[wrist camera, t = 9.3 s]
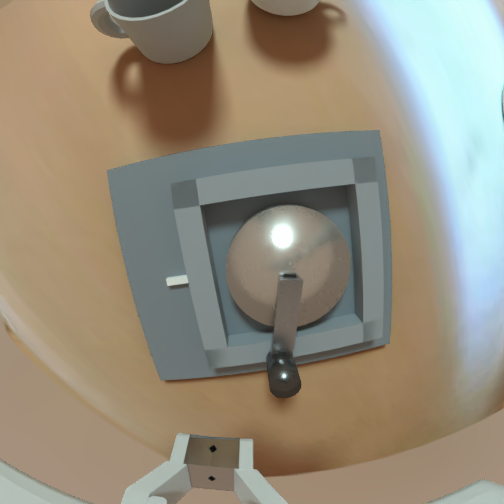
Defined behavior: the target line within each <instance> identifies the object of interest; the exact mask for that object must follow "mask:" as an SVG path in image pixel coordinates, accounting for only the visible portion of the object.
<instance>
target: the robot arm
mask: <svg viewBox="0 0 504 504" xmlns="http://www.w3.org/2000/svg"><path fill="white" fill-rule="evenodd" d="M502 99H503V112H504V87H503V97H502ZM239 446H240V447H239ZM192 487H195V488H205V489H216V490H227V491H234V493H235V494H236V496H237V497H238V499H239V500H240V501H241V503H242V504H288V503H287V502H286V501H285V500H284V499H283V498H282V497H281V496H280V495H279V493H278V492H277V491H276V490H275V489H274V488H273V487H272V486H271V485H270V484H269V483H268V482H267V480H266V479H265V478H264V477H263V476H262V475H261V474H260V472H259V471H258V470H256V469H253V439H240V438H223V437H207V436H199V435H192V434H184V433H178V434H177V436H176V439H175V443H174V446H173V450H172V454H171V457H170V461H169V462H168V461H165V462H164V463H163V464H161V465H160V466H158V467H157V468H156V469H154V470H153V471H151V472H150V473H149V474H147V475H146V476H144V477H143V478H141V479H140V480H138V481H137V482H135V483H134V484H132V485H131V486H130V487H128V488H126V491H125V494H124V497H123V499H122V502H121V504H176V503H177V502H178V501H179V500H180V499H181V498H182V497H183V496H184V495H186V493H188V491H190V490H191V488H192ZM0 504H93V503H90V502H88V501H85V500H82V499H80V498H77V497H75V496H72V495H70V494H67V493H65V492H62V491H60V490H58V489H56V488H54V487H51V486H49V485H47V484H45V483H43V482H41V481H39V480H37V479H35V478H33V477H31V476H29V475H28V474H26V473H24V472H22V471H20V470H18V469H17V468H15V467H13V466H11V465H10V464H8V463H6V462H5V461H3V460H2V459H0ZM425 504H504V486H502V485H500V484H497V483H494V482H492V481H489V480H485V479H482V480H479V481H476V482H474V483H472V484H470V485H468V486H466V487H463V488H461V489H459V490H457V491H455V492H453V493H450V494H448V495H445V496H443V497H440V498H438V499H435V500H433V501H430V502H427V503H425Z"/></svg>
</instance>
